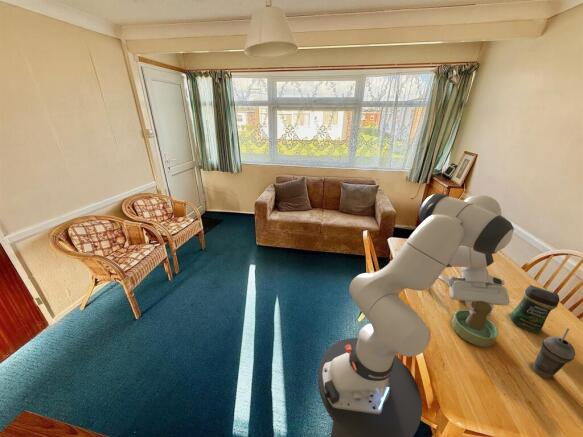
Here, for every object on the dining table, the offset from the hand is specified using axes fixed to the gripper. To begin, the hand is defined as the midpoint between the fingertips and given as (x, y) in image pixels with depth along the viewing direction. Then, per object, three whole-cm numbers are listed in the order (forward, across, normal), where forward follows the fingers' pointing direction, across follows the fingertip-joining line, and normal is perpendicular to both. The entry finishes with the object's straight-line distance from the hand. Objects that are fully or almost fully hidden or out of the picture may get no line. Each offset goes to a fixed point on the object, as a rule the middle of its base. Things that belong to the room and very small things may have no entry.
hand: (480, 314), depth 90 cm
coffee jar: (+1, +25, +14) cm, 28 cm away
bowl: (+7, 0, +8) cm, 10 cm away
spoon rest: (-10, +1, +25) cm, 27 cm away
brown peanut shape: (+4, 0, +5) cm, 6 cm away
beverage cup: (+16, +16, -2) cm, 23 cm away
